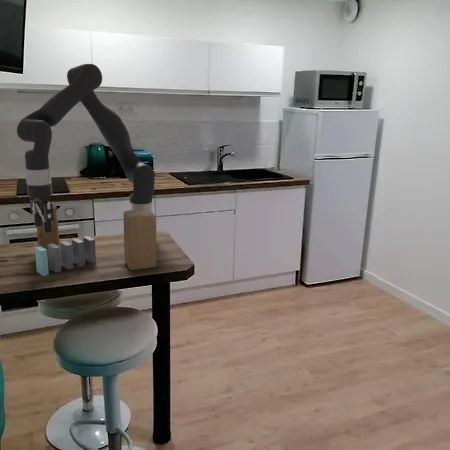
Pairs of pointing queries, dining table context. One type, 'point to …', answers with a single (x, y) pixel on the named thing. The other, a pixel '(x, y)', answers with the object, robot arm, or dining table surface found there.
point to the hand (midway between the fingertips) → (43, 229)
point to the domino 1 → (41, 261)
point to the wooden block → (139, 239)
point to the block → (51, 236)
